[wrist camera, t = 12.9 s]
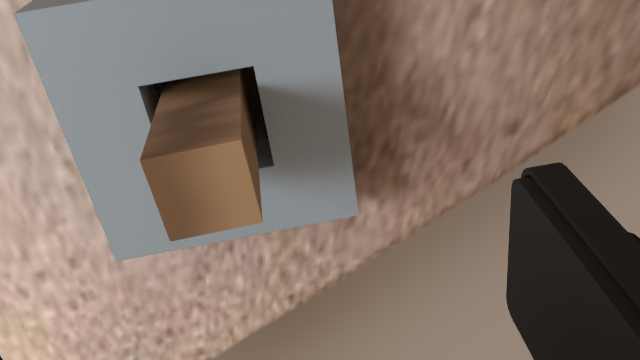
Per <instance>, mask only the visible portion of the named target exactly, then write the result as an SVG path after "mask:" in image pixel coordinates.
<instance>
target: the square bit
mask: <svg viewBox="0 0 640 360" xmlns="http://www.w3.org/2000/svg"><path fill="white" fill-rule="evenodd" d="M140 163H141V165H142V168H143V171H144V173H145V176H146V179H147V181H148V184H149V187H150V189H151V192H152V195H153V197H154V200H155V203H156V205H157V208H158V211H159V213H160V216H161V219H162V221H163V224H164V227H165V229H166V232H167V235H168V237H169V240H170V242H171V241H176V240H181V239H186V238H191V237H195V236H200V235H205V234H210V233H215V232H219V231H224V230H229V229H234V228H239V227H243V226H248V225H253V224H258V223H263V219H262V206H261V192H260V178H259V165H258V151H257V137H256V125H255V121H254V117H253V113H252V109H251V105H250V101H249V97H248V92H247V88H246V84H245V80H244V76H243V72H242V68H240V69H234V70H228V71H223V72H217V73H211V74H206V75H200V76H194V77H189V78H183V79H177V80H172V81H166V82H165V83H164V86H163V89H162V93H161V96H160V99H159V102H158V105H157V108H156V111H155V114H154V117H153V120H152V124H151V127H150V130H149V133H148V136H147V139H146V142H145V145H144V148H143V151H142V155H141V158H140Z"/></svg>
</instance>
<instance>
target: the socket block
mask: <svg viewBox="0 0 640 360" xmlns="http://www.w3.org/2000/svg"><path fill="white" fill-rule="evenodd" d="M14 16H15V18H16V21H17V23H18V25H19V28H20V30H21V33H22V35H23V37H24V40H25V42H26V45H27V47H28V49H29V52H30V54H31V57H32V59H33V61H34V64H35V66H36V69H37V71H38V73H39V76H40V78H41V81H42V83H43V85H44V88H45V90H46V92H47V95H48V97H49V100H50V102H51V104H52V107H53V109H54V112H55V114H56V116H57V119H58V121H59V124H60V126H61V128H62V131H63V133H64V136H65V138H66V140H67V143H68V145H69V148H70V150H71V152H72V155H73V157H74V160H75V162H76V164H77V167H78V169H79V172H80V174H81V176H82V179H83V181H84V184H85V186H86V188H87V191H88V193H89V196H90V198H91V200H92V203H93V205H94V208H95V210H96V212H97V215H98V217H99V220H100V222H101V224H102V227H103V229H104V232H105V234H106V236H107V239H108V241H109V244H110V246H111V248H112V251H113V253H114V256H115V258H116V260H117V261H121V260H127V259H132V258H137V257H142V256H148V255H153V254H158V253H163V252H169V251H174V250H179V249H184V248H190V247H195V246H200V245H205V244H211V243H216V242H221V241H226V240H232V239H237V238H242V237H248V236H253V235H258V234H263V233H269V232H274V231H279V230H284V229H290V228H295V227H300V226H305V225H311V224H316V223H321V222H326V221H332V220H337V219H342V218H347V217H353V216H358V215H359V212H358V204H357V196H356V188H355V180H354V172H353V164H352V156H351V148H350V140H349V132H348V124H347V115H346V107H345V99H344V91H343V83H342V75H341V67H340V59H339V51H338V43H337V35H336V27H335V19H334V11H333V2H332V0H33V1H31V2H30V3H28V4H27V5H26V6H24V7H23V8H21V9H20V10H18V11H17V12H15V13H14ZM251 66H254V71H255V76H256V81H257V86H258V90H259V95H260V100H261V105H262V110H263V115H264V119H265V124H266V129H267V134H268V138H267V139H261V140H257V151H258V165H259V178H260V192H261V206H262V219H263V223H258V224H253V225H248V226H243V227H239V228H234V229H229V230H224V231H219V232H215V233H210V234H205V235H200V236H195V237H191V238H186V239H181V240H176V241H171V242H170V240H169V237H168V235H167V232H166V229H165V227H164V224H163V221H162V219H161V216H160V213H159V211H158V208H157V205H156V203H155V200H154V197H153V195H152V192H151V189H150V187H149V184H148V181H147V179H146V176H145V173H144V171H143V168H142V165H141V163H140V158H141V155H142V151H143V148H144V145H145V142H146V139H147V136H148V133H149V130H150V127H151V124H152V120H153V117H154V114H155V111H156V108H157V105H158V102H159V97H158V94H157V91H156V87H155V83H160V82H166V81H172V80H177V79H183V78H189V77H194V76H200V75H206V74H211V73H217V72H223V71H228V70H234V69H240V68H245V67H251Z"/></svg>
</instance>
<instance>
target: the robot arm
mask: <svg viewBox="0 0 640 360" xmlns="http://www.w3.org/2000/svg"><path fill="white" fill-rule="evenodd" d="M508 252H509V253H508V272H507V273H508V274H507V293H506V294H507V295H506V296H507V297H506V298H507V305H508V309H509V312H510V315H511V317H512V319H513V321H514V323H515V325H516V327H517V329H518V330H519V332H520V334H521V336H522V338H523V340H524V342H525V344H526V345H527V347H528V349H529V351H530V353H531V355H532V357H533V359H534V360H640V238H639V237H637V236H636V235H635V234H633V233H629V232H627V231H626V230H625V229H624V228H623V227H622V226H621V224H620V223H619V222H618V221H617V220H616V219H615V218H614V217H613V216H612V215H611V214H610V213H609V212H608V211H607V210H606V208H605V207H604V206H603V205H602V204H601V203H600V202H599V201H598V200H597V199H596V198H595V197H594V196H593V195H592V194H591V192H589V190H587V188H586V187H585V186H584V185H583V184H582V183H581V182H580V181H579V180H578V179H577V178H576V176H575V175H574V174H573V173H572V172H571V171H570V170H569V169H568V168H567V167H566V166H565V165H564V164H562V163H553V164H548V165H542V166H536V167H531V168H526V169H525V170H523V173H522V176H521V178H520V179H515V180H514V181H513V183H512V189H511V209H510V231H509V251H508ZM0 360H3V359H2V358H1V356H0Z"/></svg>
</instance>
